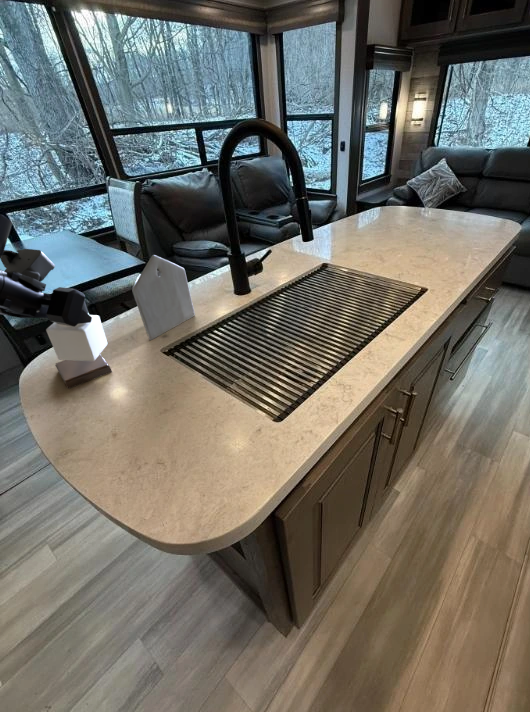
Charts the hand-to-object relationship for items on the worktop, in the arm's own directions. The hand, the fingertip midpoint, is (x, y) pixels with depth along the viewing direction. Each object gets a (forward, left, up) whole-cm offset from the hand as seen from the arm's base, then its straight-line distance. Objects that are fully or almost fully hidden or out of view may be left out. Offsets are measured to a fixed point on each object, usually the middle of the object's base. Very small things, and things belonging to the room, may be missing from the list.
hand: (75, 317), depth 67 cm
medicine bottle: (-1, -1, -7) cm, 8 cm away
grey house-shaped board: (+20, +11, -13) cm, 27 cm away
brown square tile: (-3, +2, -13) cm, 14 cm away
